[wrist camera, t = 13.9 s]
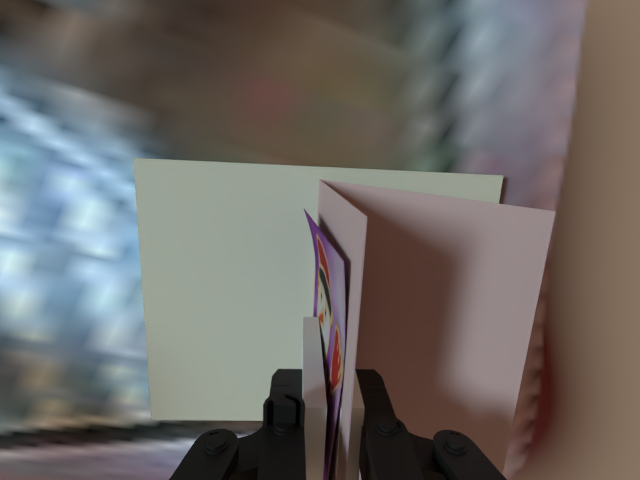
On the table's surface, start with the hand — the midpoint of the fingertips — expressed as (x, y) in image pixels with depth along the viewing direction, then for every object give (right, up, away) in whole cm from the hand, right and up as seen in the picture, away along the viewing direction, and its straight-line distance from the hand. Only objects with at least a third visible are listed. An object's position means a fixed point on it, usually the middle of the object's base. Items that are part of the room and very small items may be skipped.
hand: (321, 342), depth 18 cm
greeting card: (+3, -8, 0) cm, 8 cm away
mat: (0, +1, +4) cm, 4 cm away
